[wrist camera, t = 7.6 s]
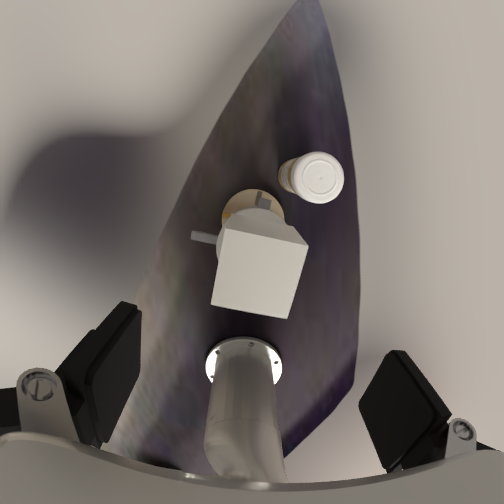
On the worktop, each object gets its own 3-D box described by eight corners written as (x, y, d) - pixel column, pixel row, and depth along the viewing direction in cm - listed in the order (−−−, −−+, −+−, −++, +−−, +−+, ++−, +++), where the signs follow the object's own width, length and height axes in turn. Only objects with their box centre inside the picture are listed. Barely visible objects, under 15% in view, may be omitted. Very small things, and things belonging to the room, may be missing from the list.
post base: (274, 253, 38) (285, 289, 27) (217, 241, 38) (203, 272, 26) (289, 196, 36) (308, 208, 24) (229, 183, 35) (220, 188, 24)
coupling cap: (300, 206, 24) (326, 224, 16) (278, 288, 26) (290, 339, 18) (204, 185, 23) (181, 193, 15) (189, 270, 26) (165, 314, 17)
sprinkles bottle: (306, 196, 36) (337, 210, 23) (273, 187, 36) (287, 196, 23) (315, 163, 35) (351, 160, 22) (282, 154, 34) (301, 144, 21)
